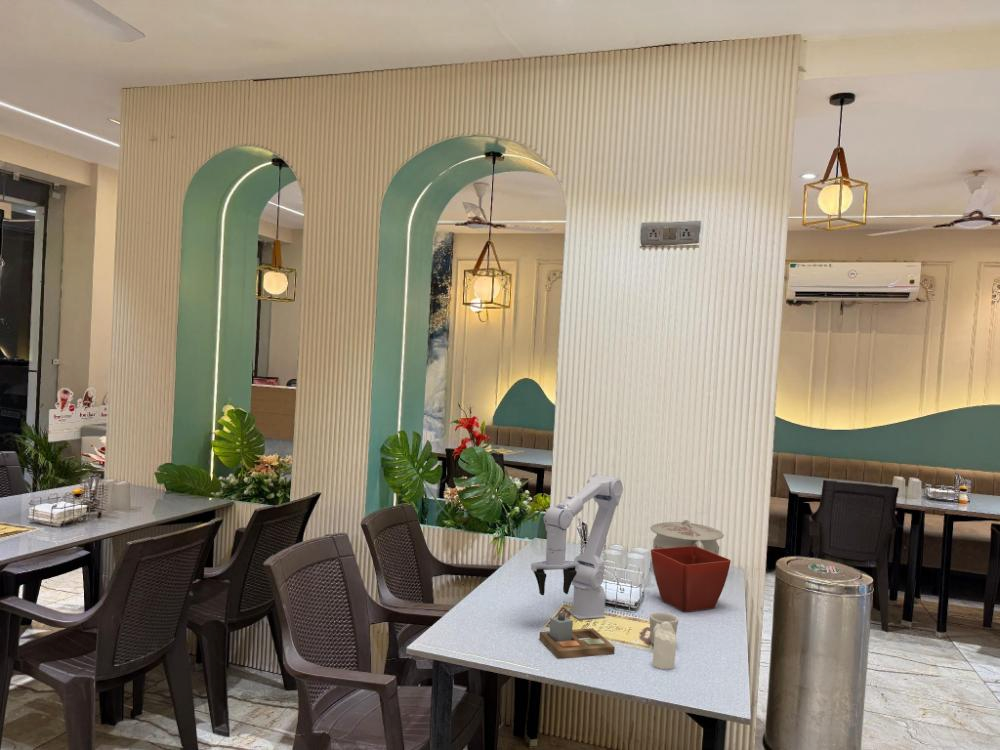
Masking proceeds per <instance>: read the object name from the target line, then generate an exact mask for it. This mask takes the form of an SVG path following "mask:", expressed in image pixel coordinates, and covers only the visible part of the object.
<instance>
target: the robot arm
mask: <svg viewBox="0 0 1000 750" xmlns="http://www.w3.org/2000/svg"><path fill="white" fill-rule="evenodd" d="M623 491H624V487H623V482H622V480H621V479H620V478H619V477H611V476H606V475H600V474H598V473H597V474H596V473H594V474H591V476H589V477H588V478H587V483H586V485H585V486H583V488H581V490H580V491H578V492H577V494H568V495H567V497H566V498H564V500H563V501H561V502H559V503H558V504H557V505H556V506H551V507H549V508H547V510H546V511H545V514H544V516H543V523H544V524H545V525H544V526H545V531H546V547H545V548H546V551H545V560H543V561H538V562H531V564H530V569H531V571H532V572H533V574H534V576H535V578H536V581H537V585H538V592H539V594H540V595H541V596H544V595H545V592H546V591H545V590H546V589H545V587H546V580H547V579H546V578H547V573H546V571H552V570H562V571H563V583H562V585H563V586H562V588H563V589H562V590H563V591H562V592H563V593H564V594H566V595H568V594H569V591H570V588H571V585H572V586H573V596H572V597H573V599H572V600H573V601H572V608H569V609H567V611H568V612H569V613H570V614H571V615H572V616H573V617H575V618H576V619H577V620H584V619H585V620H586V619H599V618H605V617H606V615H605V604H606V603H605V601H606V594H605V590H604V588H603V586H602V584H603V582H604V578H605V577H604V573H605V569H606V567H605V565H604V562H603V561H602V560H601V555H602V552H603V548H604V546H605V542H606V540H607V536H608V534H609V533H608V532H609V530H610V527H611V524H612V520H613V517H614V515H615V511H616V510H617V509H616V508H617V507H618V506H619V503H620V500H621V498H622V494H623ZM591 499H593V500H594V502H596V503H597V505H598V508H597V512H596V514H595V517H594V520H593V523H592V527H591V529H590V533H589V536H588V538H587V541H586V545H585V548H584V551H583V553H581V554H579V555H577V556H575V558H574V560H566V551H567V549H566V548H567V547H566V546H567V529H569V527H570V526H571V523H572V521H573V519H574V517H576V516H577V515H578V514H579V513H580V512H582V511H583V509H584V504H586V503H587V502H588V501H590V500H591Z"/></svg>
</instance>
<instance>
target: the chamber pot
mask: <svg viewBox="0 0 1000 750" xmlns="http://www.w3.org/2000/svg"><path fill="white" fill-rule="evenodd" d="M649 529H650V531H651V532H653V533H655V534H656V535H655V537H654V538H653V540H652V548H653V549H662V548H673V547H685V546H697V547H699V548H702V549H704V550H707V551H709V552H712V553H714V554H717V555H719V556H720V545H719V544H718V540H720V539H723V538H724V536H725V534H724V533H723V532H722V531H720V530H718V529H716V528H714V527H710V526H707V525H704V524H700V523H699V524H698V523H693V522H691V521H690V520H688V519H685V520H683V521H668V522H666V521H665V522H659V523H655V524H653V525H651V526H650V527H649Z"/></svg>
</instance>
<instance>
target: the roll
mask: <svg viewBox="0 0 1000 750" xmlns="http://www.w3.org/2000/svg"><path fill="white" fill-rule="evenodd" d="M676 649H677V633H676V634H675V631H674V630H673V628H672V624H670V623H669V622H667V621H666V622H664V623H662V624H661V626H660V627H659V629H658V630H657V631H656V632H655V634H654V644H653V652H652V653H653V654H652V665H653V667H654V668H657V669H661V670H672V669H674V668H675V664H676V663H675V660H676V651H677V650H676Z"/></svg>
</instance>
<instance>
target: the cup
mask: <svg viewBox="0 0 1000 750" xmlns="http://www.w3.org/2000/svg"><path fill="white" fill-rule="evenodd" d="M666 621H667V622H669V623H670V624H672V628H673V630H674V631H675V634H676V635H677V631H678V625H679V624H678V623H679V618H678V616H676V615H674V614H672V613H667V612H661V611H660V612H653V613H650V615H649V632H650V633H649V636H650V642H651V644H652V645H654V634H655V632H656V631H657V630H658V629H659V627H660V626H661V624H662V623H664V622H666Z"/></svg>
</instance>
